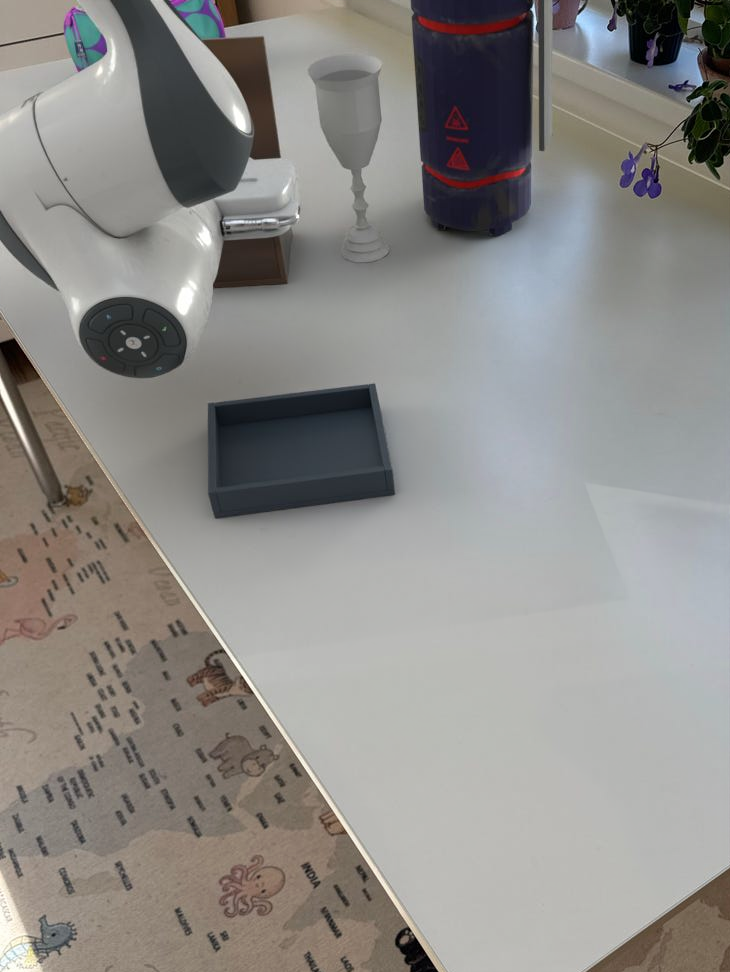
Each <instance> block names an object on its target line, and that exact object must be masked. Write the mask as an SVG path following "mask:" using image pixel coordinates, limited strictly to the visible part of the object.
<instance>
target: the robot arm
mask: <svg viewBox="0 0 730 972" xmlns="http://www.w3.org/2000/svg"><path fill="white" fill-rule="evenodd" d="M75 1H76V2H77V3H78V5H80V6H81V7H82V8H83V10H84V11H85V12H86V14H87V15H88V16H89V18H90V19H91V20H92V21H93V23H94V24H95V25H96V27H97V28H98V29H99V31H100V32H101V33H102V35H103V36H104V38H105V40H106V43H107V53H106V54H105V56H104V57H103V58H102V59H100V60H99V61H98V62H96V63H94V64H92V65H91V66H89V67H87V68H85V69H84V70H82V71H80V72H78V71H77V73H75V74H73V75H72V76H69V77H68V78H66V79H64V80H62V81H61V82H59V83H57V84H56V85H54V86H52V87H50V88H48V89H47V90H45V91H40V92H38V93H36V94H34V95H33V96H31V97H29V98H28V99H26V100H24V101H23V102H20V103H19V104H18V105H16V106H14V107H13V108H10V109H9V110H7V111H6V112H4V113H2V114H0V242H1V244H2V245H3V246H4V247H5V248H6V250H7V251H8V252H9V253H10V254H11V255H12V257H14V259H16V261H18V262H19V263H20V264H21V265H22V266H23V267H24V268H25V269H26V270H28V271H29V272H30V273H31V274H32V275H34V276H35V277H36V278H38V279H40V280H41V281H43V282H44V283H45V284H46V285H48V286H49V287H51V288H52V289H54V290H56V291H57V292H59V293H60V296H61V297H62V299H63V301H64V303H65V306H66V310H67V313H68V315H69V320H70V324H71V328H72V331H73V334H74V337H75V339H76V341H77V343H78V345H79V346H80V348H81V349H82V351H83V352H84V354H85V355H86V356H87V357H88V358H89V359H90V360H91V361H92V362H93V363H95V364H96V365H97V366H98V367H100V368H102V369H103V370H106V371H107V372H110V373H111V374H114V375H117V376H121V377H125V378H131V379H151V378H156V377H159V376H163V375H166V374H168V373H171V372H173V371H175V370H176V369H178V368H179V367H181V366H182V365H183V364H184V363H186V361H188V359H190V357H191V355H192V354H193V353H194V351H195V350H196V348H197V347H198V345H199V343H200V341H201V339H202V337H203V334H204V332H205V329H206V326H207V323H208V319H209V316H210V311H211V307H212V302H213V294H214V288H213V283H214V281H215V278H216V276H217V272H218V268H219V262H220V257H221V253H222V248H223V243H224V240H239V239H255V238H268V237H275V236H278V235H281V234H283V233H285V232H286V231H288V230H289V229H290V227H292V226H294V225H297V223H298V222H299V220H300V216H301V204H302V203H301V202H302V195H301V193H302V192H301V185H300V179H299V173H298V169H297V165H296V163H295V162H293V161H291V160H289V159H288V158H285V157H281V158H274V159H258V160H254V159H252V158H250V157H249V156H250V152H251V148H252V143H253V138H254V125H253V121H252V118H251V115H250V113H249V111H248V108H247V105H246V103H245V100H244V98H243V96H242V94H241V92H240V90H239V88H238V86H237V84H236V83H235V81H234V80H233V78H232V77H231V75H230V74H229V72H228V71H227V70H226V69H225V67H224V66H223V65H222V63H221V62H220V61H219V60H218V59H217V58H216V57H215V55H214V54H213V53H212V52H211V51H210V49H209V48H208V47H207V46H206V44H205V43H204V42H203V41H202V40H201V38H200V37H199V36H198V35H197V34H196V32H195V31H194V30H193V29H192V28H191V26H190V25H189V24H188V23H187V22H186V20H185V19H184V18H183V17H182V16H181V14H180V13H179V12H178V11H177V9H176V8H175V7H174V6H173V4H172V3H171V2H170V1H171V0H75ZM82 8H81V9H82Z"/></svg>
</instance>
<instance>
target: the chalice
mask: <svg viewBox="0 0 730 972" xmlns="http://www.w3.org/2000/svg"><path fill="white" fill-rule="evenodd" d="M382 67H383V62H382V61H381V60H380V59H379V58H377V57H375V56H372V55H369V54H362V53H344V54H336V55H332V56H327V57H324V58H321V59H319V60H316V61H315V62H313V63H311V64H310V65H309V66H308V68H307V74H308V76H309V77H310V79H311V80H312V82H313V84H314V88H315V95H316V104H317V111H318V120H319V125H320V128H321V131H322V133H323V135H324V137H325V140H326V142H327V144H328V146H329V148H330V150H332V153H333V154H334V156H335V157H336V159H337V161H338V162H339V165H341V167H342V168H343V169H345V170H349V171H350V172H351V176H352V180H351V185H350V187H349V188H350V191H351V192H352V193H353V196H354V201H353V203H352V205H351V208H352V209H353V211H355V215H356V223H355V224H354V225H353V226H351V227H350V228H349V229H348V230H347V232H346V234H345V238H344V241H343V246H342V249H341V251H340V254H341V256H342V257H343V258H344V259H345V260H348V261H349V262H353V263H373V262H375V261H379V260H382V259H383V258H384V257H386V256H387V254H389V251H390V248H389V246H388V244H387V243H386V242H385V238H384V236H382V233H381V231H380V230H379V228H377V226H375V225H373V224H371V223H370V222H369V221H368V220H367V217H366V216H367V215H366V214H367V209H368V208H369V206H370V205H369V203H368V202H367V201H366V200H365V197H364V195H365V190H366V188H367V186H366V185H365V183H364V181H363V178H362V171H363V169H364V168H366V167H367V166H369V165H370V163H371V159H372V156H373V154H374V150H375V148H376V145H377V142H378V139H379V135H380V129H381V124H382V109H381V97H380V87H379V85H380V84H379V76H380V73H381V70H382Z"/></svg>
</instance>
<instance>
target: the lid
mask: <svg viewBox="0 0 730 972" xmlns="http://www.w3.org/2000/svg"><path fill="white" fill-rule="evenodd" d="M201 40H202V41H203V42H204V43H205V44H206V46H207V47H208V48H209V49H210V51H211V52H212V53H213V54H214V55H215V57H216V58H217V59H218V60H219V61H220V62H221V63H222V65H223V66H224V67H225V69H226V70H227V71H228V72H229V74H230V75H231V77H232V78H233V80H234V81H235V83H236V84H237V86H238V88H239V90H240V92H241V94H242V96H243V98H244V100H245V103H246V105H247V108H248V111H249V113H250V115H251V118H252V121H253V125H254V138H253V143H252V148H251V152H250V156H249V157H250V158H252V159H254V160H258V159H274V158H282V153H281V147H280V141H279V140H280V139H279V133H278V127H277V126H278V125H277V119H276V112H275V105H274V104H275V103H274V97H273V90H272V83H271V76H270V69H269V63H268V55H267V48H266V47H267V46H266V41H265V40H266V39H265V35H254V36H253V35H252V36H250V35H249V36H232V37H226V38H209V39H201Z"/></svg>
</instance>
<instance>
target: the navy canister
mask: <svg viewBox="0 0 730 972" xmlns="http://www.w3.org/2000/svg"><path fill="white" fill-rule="evenodd" d="M534 4H535V0H410V10H411V11H412V12H413V14H411V28H412V45H413V47H412V48H413V62H414V76H415V77H414V78H415V92H416V94H415V95H416V108H417V123H418V124H417V125H418V138H419V140H418V141H419V154H420V155H419V156H420V162H421V163H422V165H421V179H422V180H421V181H422V195H423V197H422V198H423V210H424V212H425V214H426V215H427V216H428V217H429V219H430V223H431V224H432V225H433V227H434V228H436V229H437V230H438V231H444V230H446V227H447V228H451V229H454V230H460V231H471V232H473V231H474V232H475V231H487V230H488V234H489V235H490V236H492V237H497V236H500V235H504V234H506V233H509V232H510V231H511V230H513V222H516V221H518V220H519V219H521V218H523V217H524V216H525V215H527V213H528V212H529V210H530V208H531V205H532V162H531V161H532V158H533V113H534V112H533V111H534V110H533V108H534V107H533V106H534V105H533V103H534V98H533V97H534V38H535V37H534V34H535V33H534V32H535V31H534V30H535V29H534V28H535V27H534V26H535V25H534V24H535V14H534V12H533V10H532V9H533V7H534ZM553 5H554V3H553V0H537V10H538V11H537V13H538V15H537V17H538V19H537V21H538V22H537V23H538V26H537V27H538V28H537V31H538V32H537V33H538V36H537V37H538V40H537V41H538V151H539V152H545V151H546V149H548V146H549V144H550V142H551V140H552V138H553V10H554V9H553Z"/></svg>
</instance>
